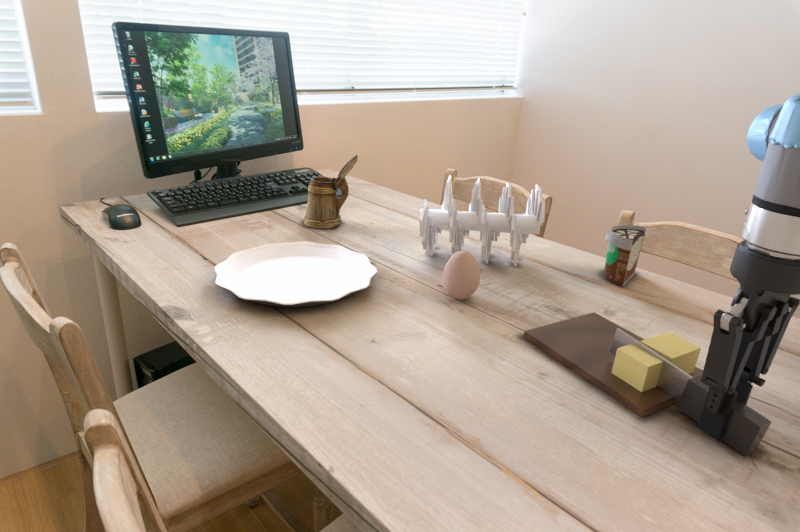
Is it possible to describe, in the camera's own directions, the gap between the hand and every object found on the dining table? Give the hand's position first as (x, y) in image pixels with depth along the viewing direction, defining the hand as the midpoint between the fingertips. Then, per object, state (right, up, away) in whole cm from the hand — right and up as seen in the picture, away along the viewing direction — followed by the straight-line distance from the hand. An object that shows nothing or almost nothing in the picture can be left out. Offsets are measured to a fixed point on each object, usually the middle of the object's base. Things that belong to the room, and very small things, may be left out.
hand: (716, 427), depth 65 cm
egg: (-28, +14, +32) cm, 44 cm away
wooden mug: (-56, +30, +67) cm, 93 cm away
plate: (-58, +17, +35) cm, 70 cm away
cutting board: (-7, +6, +15) cm, 17 cm away
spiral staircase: (-22, +21, +51) cm, 60 cm away
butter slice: (-7, +4, +8) cm, 11 cm away
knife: (-3, +2, +5) cm, 6 cm away
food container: (+6, +18, +46) cm, 50 cm away
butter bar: (-1, +5, +11) cm, 12 cm away
